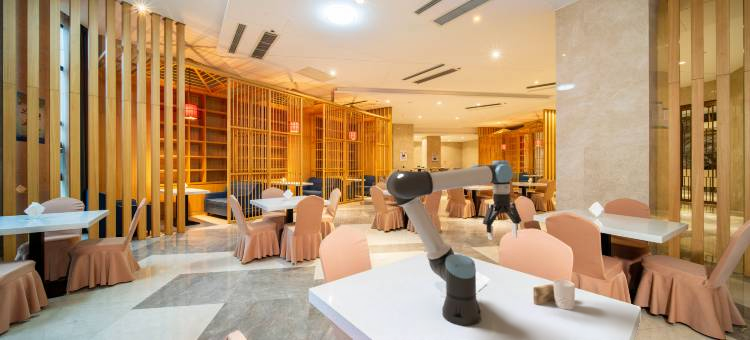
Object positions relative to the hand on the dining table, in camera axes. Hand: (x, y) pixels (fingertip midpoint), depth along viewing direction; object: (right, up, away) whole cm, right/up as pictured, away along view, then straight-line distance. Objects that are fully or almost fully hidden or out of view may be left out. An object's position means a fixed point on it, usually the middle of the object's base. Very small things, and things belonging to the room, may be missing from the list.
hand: (502, 238), depth 137 cm
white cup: (+21, -26, -12) cm, 36 cm away
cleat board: (+18, -26, -9) cm, 33 cm away
